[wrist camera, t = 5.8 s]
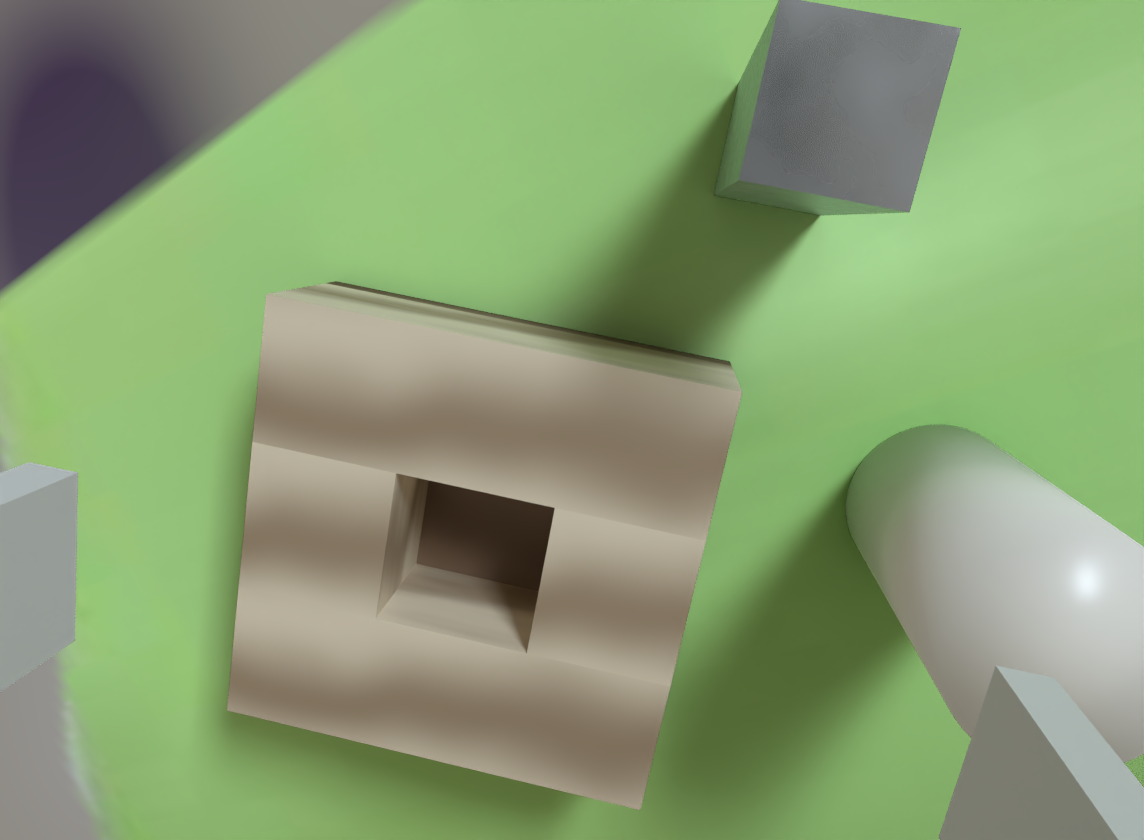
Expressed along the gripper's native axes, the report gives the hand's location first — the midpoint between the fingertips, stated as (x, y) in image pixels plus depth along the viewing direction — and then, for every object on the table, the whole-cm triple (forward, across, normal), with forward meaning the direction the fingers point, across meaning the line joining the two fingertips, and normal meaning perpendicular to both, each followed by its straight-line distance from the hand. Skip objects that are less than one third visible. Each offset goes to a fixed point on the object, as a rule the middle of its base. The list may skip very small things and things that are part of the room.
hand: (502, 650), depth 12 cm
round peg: (+22, +13, -3) cm, 26 cm away
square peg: (+22, +4, +9) cm, 25 cm away
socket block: (+22, -4, -7) cm, 23 cm away
